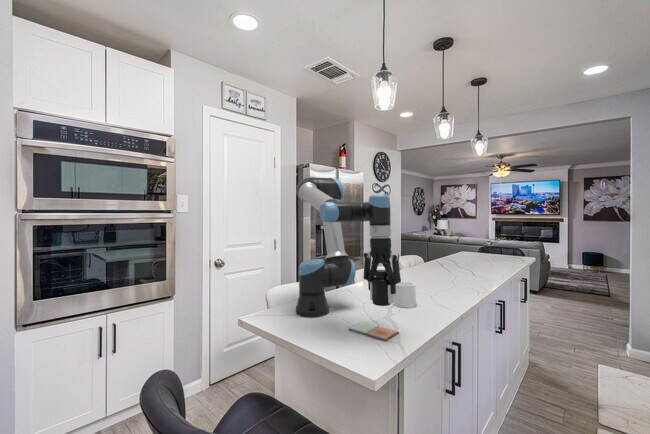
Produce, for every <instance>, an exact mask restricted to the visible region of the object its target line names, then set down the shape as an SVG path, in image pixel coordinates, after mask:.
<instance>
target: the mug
mask: <svg viewBox="0 0 650 434" xmlns="http://www.w3.org/2000/svg"><path fill="white" fill-rule="evenodd" d="M416 297H417V296H416V283H415V282H411V281H401V282H400V283H398V284H396V293H395V294H394V303H393V304H394V307H397V308H399V309H400V308H401V309H414V308H415V307H416V304H417V302H416Z"/></svg>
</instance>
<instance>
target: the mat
mask: <svg viewBox="0 0 650 434" xmlns="http://www.w3.org/2000/svg"><path fill="white" fill-rule="evenodd" d="M347 330H348V331H350V332H352V333H356V334H360V335H363V336H366V337H370V338H372V339H376V340H379V341H383V342H388V341H389V340H390V339H392V338H394V337H395V336H397V335H399V334H400V332H399V330H398V331H397V330H395V329H391V328H388V327H384V326H379V325H376V324H371V323H368V322H364V321H362V322H359V323H357V324H355V325H353V326H351V327H349V328H348V329H347Z"/></svg>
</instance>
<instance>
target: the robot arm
mask: <svg viewBox="0 0 650 434" xmlns="http://www.w3.org/2000/svg"><path fill="white" fill-rule="evenodd" d="M295 191H296V196H297V197H298V198H299V199H300V200H301V202H303V203H308V204H309V205H311V206H312V207H313V208H314V209H316V210H317V211H319V217H320V220H321V221H322V224H323V232H324V239H325V247H326V257H325V258H324V259H322V258H316V259H315V258H314V259H313V258H312V259H308V260H305V261H302V262H301V263H300V264H299V266H298V272H297V273H298V291H299V295H298V299H297V305H296V307H295V314H296V315H297V316H299V315H300V317H302V318H303V317H304V318H317V317H323V316H326V315H328V314H329V313H330V306H329V304H328V301H327V297H326V291H325V289H326V288H331V287H339V286H340V287H344V286H347V285H351V284H352V283H353V281H354V280H355V277H356V274H357V273H356V272H357V270H356V263H355V262H354V260H353V259H350V256H349V255H348V254H347V253H346V251H345V243H344V238H343V229H342V224H341V223H346V222H351V223H352V222H353V223H354V222H360V223H361V222H369V236H370V237H371V238H370V239H369V247H370V251H369V252H364V253H363V258H364V263H363V265H364V266H363V279H364V280H365V281H367V283H368V286H367V287H368V288H367V289H368V291H369V292H370V293H369V295H370V296H369V298H370V301H372V280H373V278H375V270H378V268H379V265H380V264H382V267H384V270H385V271H386V274H387V277H388V280H389V283H390V284H389V285H388V304H391V305H392V304H394V294H395V293H396V284H398V283H400V282H402V280H401V279H402V278H401V271H400V262H399V261H400V254H395V253H393V252H392V239H391V236H392V229H391V226H392V225H391V201H390V195H388V194H371V195H369V196H368V197H369V198H368V201H362V202H361V201H354V202H352V201H342V199H343V198H344V191H345V190H344V186H343V184H342V181H340V179H338V178H333V177H314V176H310V177H305V178H304V179H302V180H300V181H299V182H298V184H297V186H296V189H295Z"/></svg>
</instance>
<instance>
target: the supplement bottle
mask: <svg viewBox="0 0 650 434" xmlns="http://www.w3.org/2000/svg"><path fill="white" fill-rule="evenodd" d="M389 284H390V283H389V280H388V277H387V274H386V271H385V269H377V270H375V277H374V278H373V280H372V300H371V301H372V304H373V305H374V306H378V307H389V306H391V305H392V303H391V304H388V285H389Z"/></svg>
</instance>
